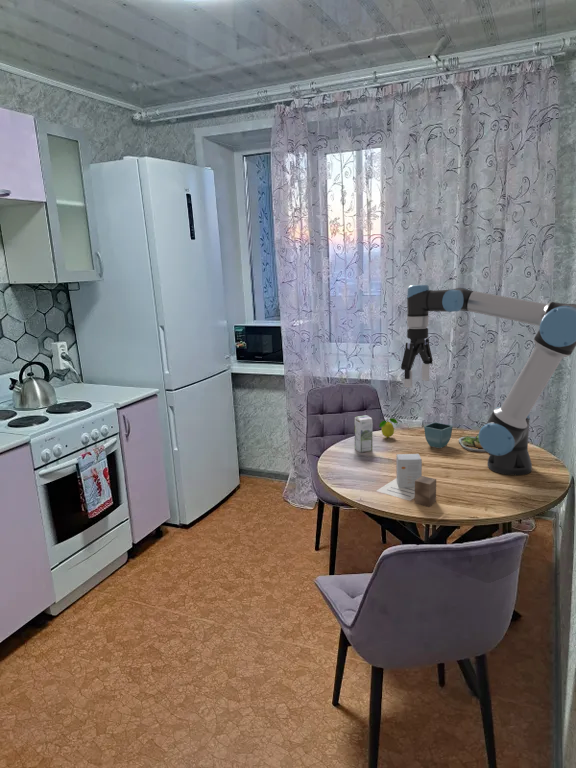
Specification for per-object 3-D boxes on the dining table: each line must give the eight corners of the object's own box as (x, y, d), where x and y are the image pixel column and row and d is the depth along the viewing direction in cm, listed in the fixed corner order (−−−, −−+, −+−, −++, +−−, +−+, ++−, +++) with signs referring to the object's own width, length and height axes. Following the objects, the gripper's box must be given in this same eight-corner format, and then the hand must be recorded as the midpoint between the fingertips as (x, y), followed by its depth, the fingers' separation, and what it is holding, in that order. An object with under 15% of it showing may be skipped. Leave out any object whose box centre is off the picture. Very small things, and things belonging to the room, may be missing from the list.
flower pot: (434, 441, 222) (434, 421, 220) (452, 445, 216) (453, 425, 214) (423, 446, 217) (423, 426, 215) (441, 451, 210) (442, 430, 208)
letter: (432, 485, 177) (432, 484, 177) (410, 501, 165) (410, 500, 165) (399, 477, 186) (399, 476, 186) (375, 491, 174) (375, 491, 174)
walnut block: (435, 502, 164) (436, 479, 163) (429, 508, 161) (429, 484, 159) (421, 498, 168) (421, 475, 166) (414, 504, 164) (414, 480, 162)
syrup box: (366, 447, 219) (366, 414, 216) (373, 451, 213) (372, 418, 210) (354, 449, 217) (353, 416, 214) (360, 453, 212) (360, 419, 209)
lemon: (397, 436, 231) (397, 415, 228) (392, 440, 226) (392, 419, 224) (383, 435, 234) (383, 414, 232) (378, 438, 229) (378, 417, 227)
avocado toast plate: (510, 455, 202) (511, 444, 202) (464, 455, 205) (464, 444, 205) (499, 440, 221) (499, 430, 220) (456, 440, 224) (456, 429, 223)
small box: (419, 481, 180) (419, 453, 178) (421, 488, 175) (422, 459, 172) (396, 481, 181) (396, 453, 179) (398, 488, 175) (398, 459, 173)
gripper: (424, 323, 199) (423, 377, 203) (391, 330, 181) (391, 389, 185) (442, 324, 194) (441, 378, 198) (410, 331, 176) (410, 391, 180)
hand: (417, 383), depth 192 cm, fingers open, 13 cm apart
